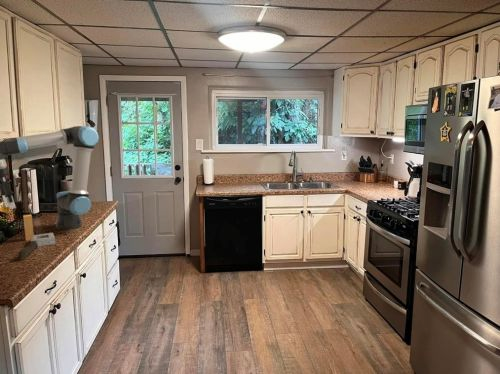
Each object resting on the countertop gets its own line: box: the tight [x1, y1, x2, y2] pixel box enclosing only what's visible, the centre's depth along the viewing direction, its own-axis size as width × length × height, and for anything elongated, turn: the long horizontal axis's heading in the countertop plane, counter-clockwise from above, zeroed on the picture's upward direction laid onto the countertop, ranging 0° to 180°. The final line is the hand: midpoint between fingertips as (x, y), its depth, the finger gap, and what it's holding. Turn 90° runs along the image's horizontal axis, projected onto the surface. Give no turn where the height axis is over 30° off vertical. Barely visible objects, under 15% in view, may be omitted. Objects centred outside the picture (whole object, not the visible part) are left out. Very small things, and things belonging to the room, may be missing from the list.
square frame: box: [30, 232, 56, 247], centre depth 210 cm, size 11×11×4 cm
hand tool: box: [18, 242, 39, 262], centre depth 191 cm, size 19×4×5 cm, turn 9°
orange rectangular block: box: [22, 214, 35, 242], centre depth 215 cm, size 4×4×14 cm
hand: (10, 207), depth 200 cm, fingers open, 13 cm apart
